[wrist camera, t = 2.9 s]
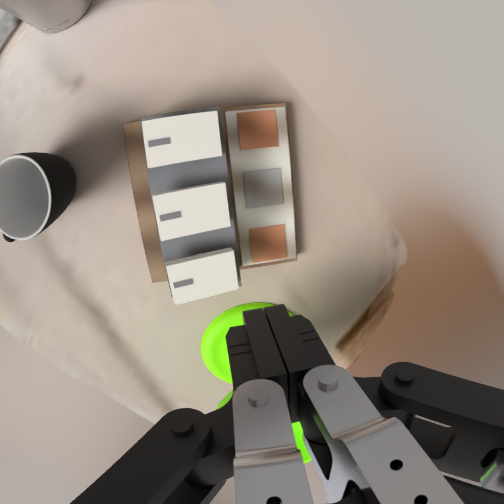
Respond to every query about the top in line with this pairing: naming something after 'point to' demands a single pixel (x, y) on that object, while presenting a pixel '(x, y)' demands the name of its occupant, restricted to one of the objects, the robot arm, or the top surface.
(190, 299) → the switch far
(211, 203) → the switch middle
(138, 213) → the switch unit
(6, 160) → the mug
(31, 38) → the top surface
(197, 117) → the switch near
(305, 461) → the wineglass
